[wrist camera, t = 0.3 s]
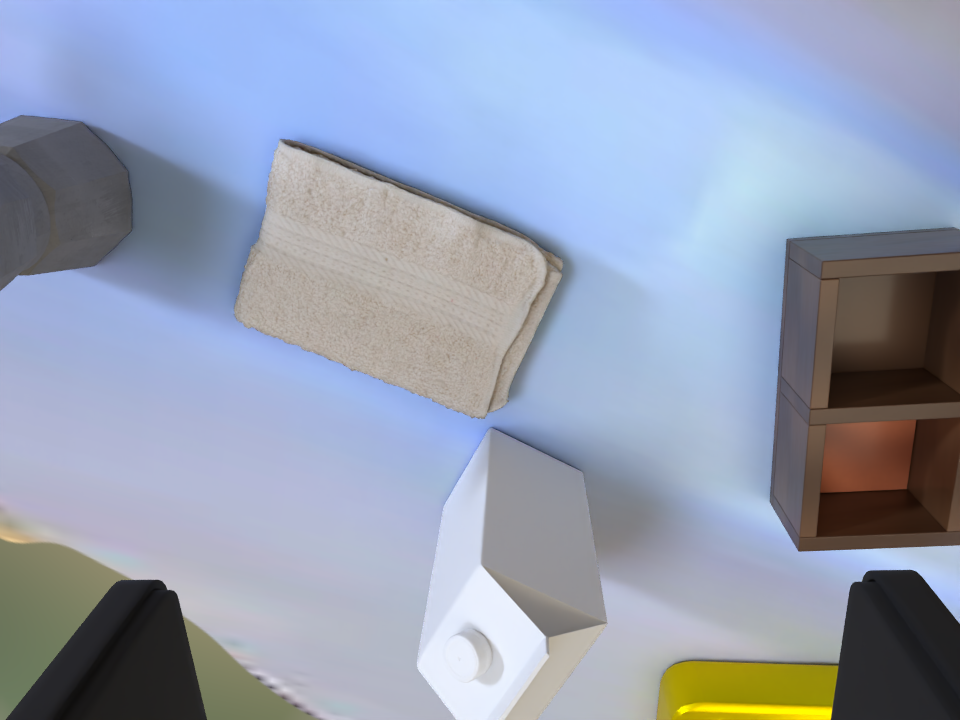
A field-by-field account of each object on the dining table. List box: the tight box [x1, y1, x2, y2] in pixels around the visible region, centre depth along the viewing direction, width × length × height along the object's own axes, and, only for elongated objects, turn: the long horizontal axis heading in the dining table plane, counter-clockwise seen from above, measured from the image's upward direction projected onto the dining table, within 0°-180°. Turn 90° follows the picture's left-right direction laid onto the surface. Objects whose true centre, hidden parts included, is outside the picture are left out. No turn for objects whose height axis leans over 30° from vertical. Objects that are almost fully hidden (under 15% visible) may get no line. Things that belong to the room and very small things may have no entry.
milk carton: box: [417, 428, 608, 720], centre depth 42 cm, size 7×7×19 cm
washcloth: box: [234, 139, 563, 419], centre depth 45 cm, size 12×18×3 cm, turn 69°
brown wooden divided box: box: [770, 227, 960, 552], centre depth 44 cm, size 18×10×6 cm, turn 5°
